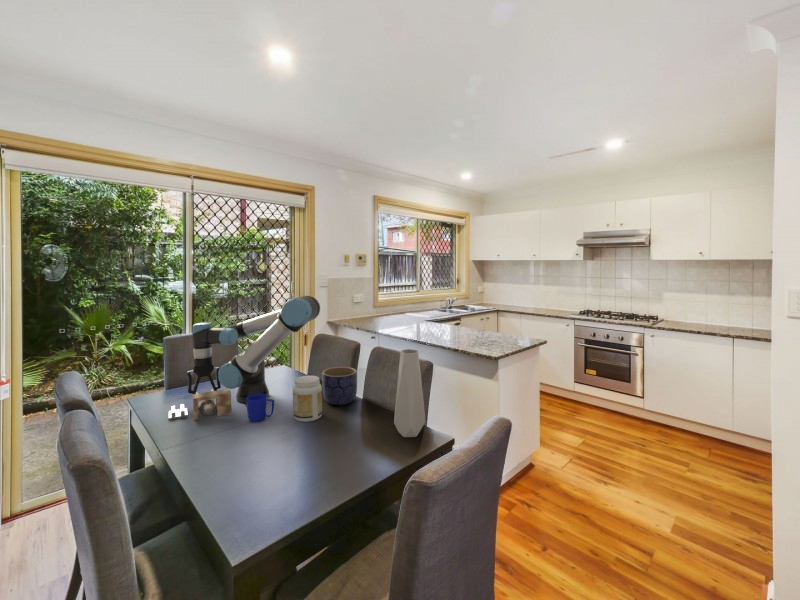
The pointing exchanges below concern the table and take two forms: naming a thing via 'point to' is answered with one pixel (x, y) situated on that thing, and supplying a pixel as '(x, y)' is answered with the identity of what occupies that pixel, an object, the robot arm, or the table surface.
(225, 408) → the wooden block with opening
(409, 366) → the vase
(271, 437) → the table surface
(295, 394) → the supplement tub
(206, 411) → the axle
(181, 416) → the v block
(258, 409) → the mug
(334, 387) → the planter
